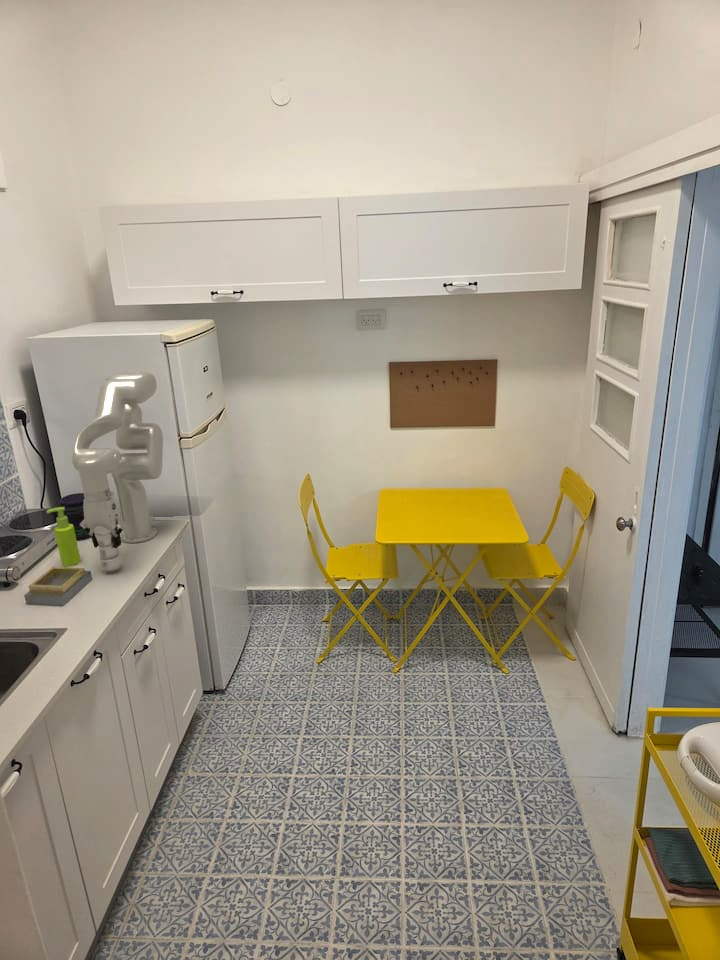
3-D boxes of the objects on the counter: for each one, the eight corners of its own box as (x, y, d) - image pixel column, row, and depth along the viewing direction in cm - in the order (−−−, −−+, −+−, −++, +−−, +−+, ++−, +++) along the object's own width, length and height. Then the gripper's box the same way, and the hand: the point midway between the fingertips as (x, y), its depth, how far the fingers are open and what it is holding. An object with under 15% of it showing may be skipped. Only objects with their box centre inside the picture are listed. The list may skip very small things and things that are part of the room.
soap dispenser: (58, 561, 212) (46, 507, 205) (80, 557, 215) (69, 503, 208) (58, 568, 207) (45, 513, 200) (80, 564, 210) (69, 509, 203)
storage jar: (101, 530, 235) (94, 493, 230) (85, 542, 226) (77, 504, 221) (78, 528, 237) (71, 492, 232) (61, 540, 228) (53, 502, 223)
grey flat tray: (57, 577, 202) (54, 563, 200) (92, 579, 200) (89, 565, 198) (26, 604, 187) (22, 589, 185) (63, 605, 185) (59, 591, 183)
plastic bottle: (116, 574, 201) (105, 518, 194) (97, 573, 202) (85, 517, 195) (127, 564, 207) (116, 509, 199) (108, 563, 208) (97, 508, 201)
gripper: (129, 490, 197) (138, 541, 204) (78, 489, 199) (89, 539, 206) (117, 500, 190) (127, 552, 197) (64, 498, 192) (76, 550, 199)
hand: (107, 545), depth 201 cm, fingers closed on plastic bottle, 6 cm apart
